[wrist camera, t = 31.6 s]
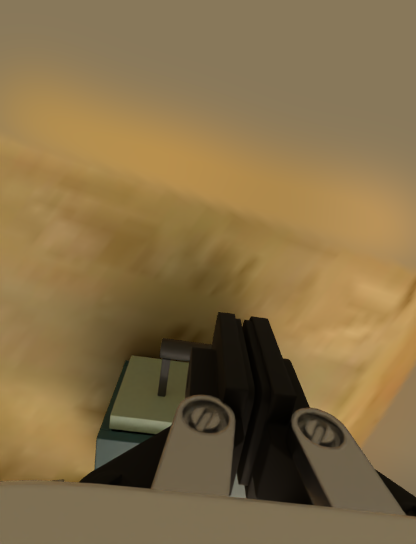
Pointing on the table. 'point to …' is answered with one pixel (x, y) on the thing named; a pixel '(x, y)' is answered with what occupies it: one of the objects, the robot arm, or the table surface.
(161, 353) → the drawer
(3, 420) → the table surface
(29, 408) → the table surface
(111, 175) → the table surface
